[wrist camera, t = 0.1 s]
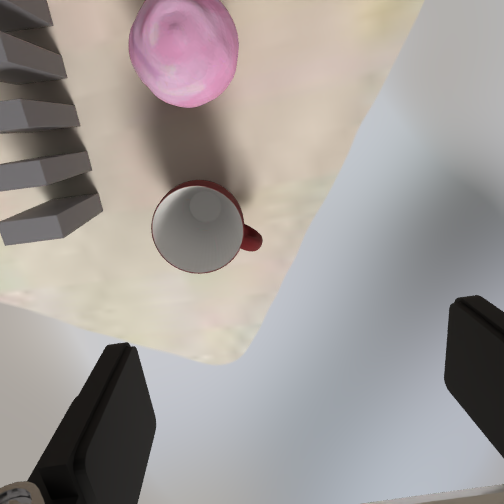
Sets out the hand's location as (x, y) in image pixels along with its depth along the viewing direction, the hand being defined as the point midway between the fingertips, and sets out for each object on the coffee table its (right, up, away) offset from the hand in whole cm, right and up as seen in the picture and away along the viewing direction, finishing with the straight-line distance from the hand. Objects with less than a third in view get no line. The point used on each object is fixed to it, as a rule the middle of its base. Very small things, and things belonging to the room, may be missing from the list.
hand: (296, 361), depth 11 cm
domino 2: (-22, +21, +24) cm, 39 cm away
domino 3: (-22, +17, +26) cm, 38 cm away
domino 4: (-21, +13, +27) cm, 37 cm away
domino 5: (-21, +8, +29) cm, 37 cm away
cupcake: (-7, +22, +25) cm, 34 cm away
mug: (-5, +8, +30) cm, 32 cm away
